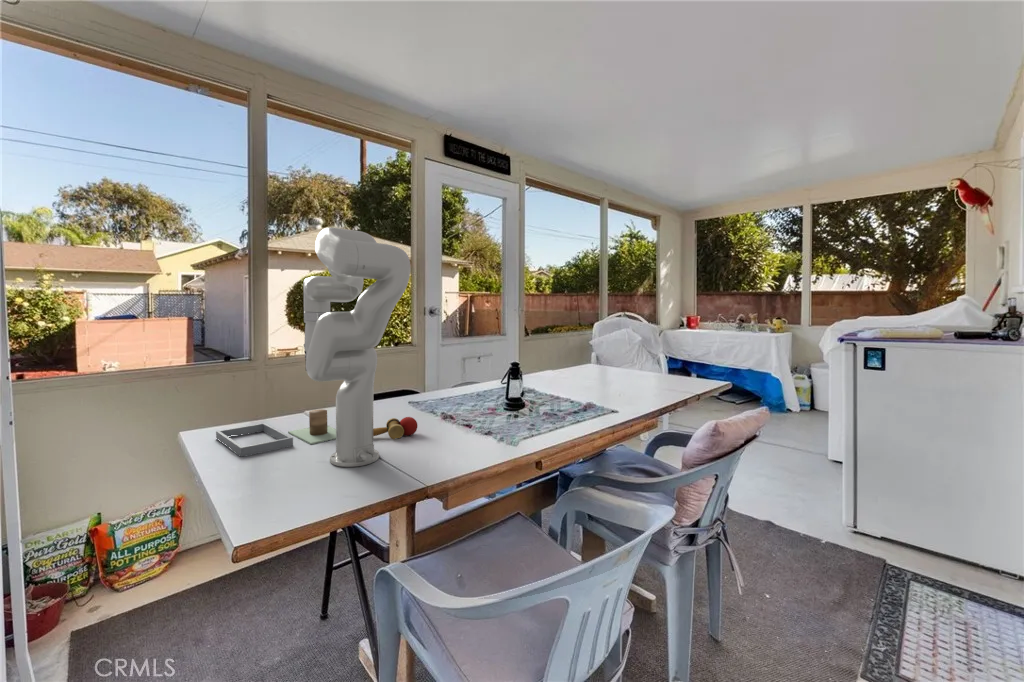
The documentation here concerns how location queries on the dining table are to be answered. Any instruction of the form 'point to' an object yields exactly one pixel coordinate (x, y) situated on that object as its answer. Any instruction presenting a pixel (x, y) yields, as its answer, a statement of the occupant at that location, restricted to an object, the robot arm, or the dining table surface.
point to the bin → (282, 442)
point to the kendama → (398, 427)
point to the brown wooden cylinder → (318, 422)
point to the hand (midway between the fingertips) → (318, 372)
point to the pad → (313, 439)
